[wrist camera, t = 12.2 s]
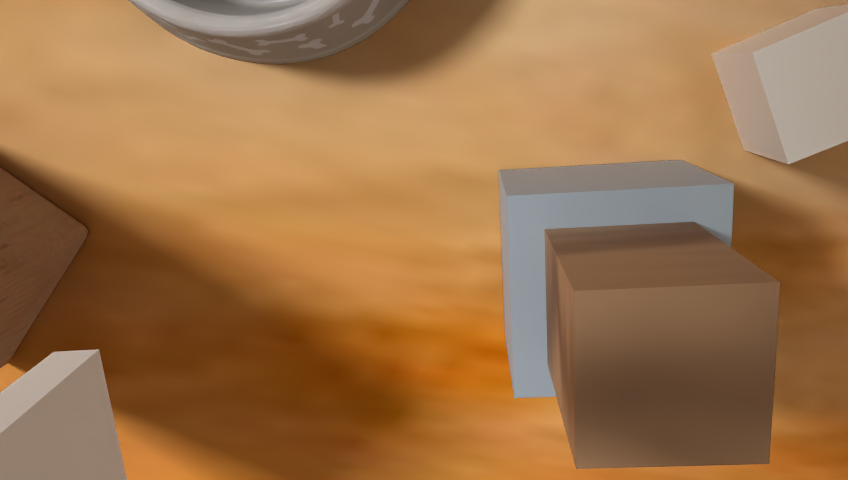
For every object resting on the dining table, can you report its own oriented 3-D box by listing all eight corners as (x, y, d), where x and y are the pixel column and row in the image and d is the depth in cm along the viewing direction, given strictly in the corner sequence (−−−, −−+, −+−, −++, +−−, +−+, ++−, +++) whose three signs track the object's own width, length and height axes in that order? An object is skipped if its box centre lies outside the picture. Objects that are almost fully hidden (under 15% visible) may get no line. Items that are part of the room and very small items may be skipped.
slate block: (498, 170, 35) (506, 195, 28) (681, 159, 35) (733, 183, 28) (505, 337, 37) (514, 397, 31) (677, 329, 37) (725, 390, 30)
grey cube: (710, 53, 33) (752, 52, 29) (815, 8, 33) (876, 0, 28) (743, 149, 34) (788, 164, 30) (845, 108, 34) (908, 116, 29)
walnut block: (544, 229, 29) (573, 290, 21) (694, 221, 28) (780, 281, 21) (547, 364, 30) (576, 468, 22) (689, 359, 30) (769, 463, 22)
